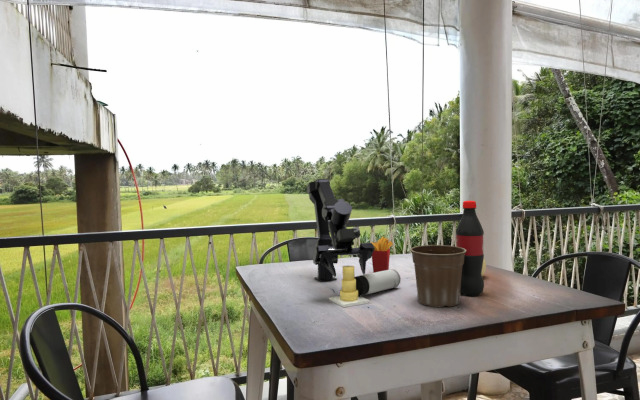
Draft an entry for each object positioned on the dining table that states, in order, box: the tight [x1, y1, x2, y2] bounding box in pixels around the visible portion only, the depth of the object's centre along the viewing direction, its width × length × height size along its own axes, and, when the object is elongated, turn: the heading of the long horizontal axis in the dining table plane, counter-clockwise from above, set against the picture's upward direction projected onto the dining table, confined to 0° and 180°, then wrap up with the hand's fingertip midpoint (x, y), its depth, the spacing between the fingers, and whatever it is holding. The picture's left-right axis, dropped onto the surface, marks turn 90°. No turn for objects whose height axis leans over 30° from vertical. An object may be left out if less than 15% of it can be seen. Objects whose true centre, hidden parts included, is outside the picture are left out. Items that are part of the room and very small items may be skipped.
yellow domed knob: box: [339, 265, 358, 301], centre depth 129 cm, size 6×6×10 cm
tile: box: [328, 295, 370, 308], centre depth 129 cm, size 9×9×1 cm
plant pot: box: [410, 244, 466, 308], centre depth 126 cm, size 16×16×16 cm
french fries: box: [370, 236, 394, 273], centre depth 166 cm, size 9×8×15 cm
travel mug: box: [355, 268, 401, 297], centre depth 138 cm, size 6×7×20 cm
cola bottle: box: [455, 200, 485, 297], centre depth 134 cm, size 8×8×30 cm
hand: (349, 274), depth 127 cm, fingers open, 9 cm apart
